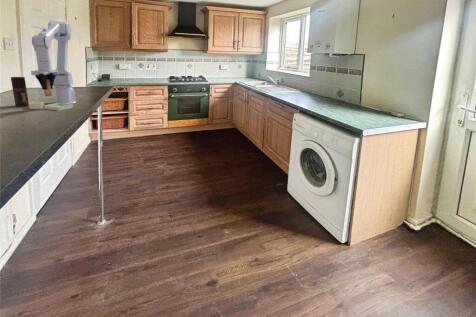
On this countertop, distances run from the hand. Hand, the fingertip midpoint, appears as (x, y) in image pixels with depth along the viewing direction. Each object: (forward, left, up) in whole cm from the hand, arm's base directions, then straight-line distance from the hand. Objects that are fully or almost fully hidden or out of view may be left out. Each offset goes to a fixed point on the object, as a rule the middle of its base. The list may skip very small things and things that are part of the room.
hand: (47, 89), depth 165 cm
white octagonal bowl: (+3, -5, -10) cm, 12 cm away
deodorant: (+2, -16, -10) cm, 19 cm away
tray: (-2, +4, -10) cm, 11 cm away
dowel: (0, 0, -3) cm, 3 cm away
